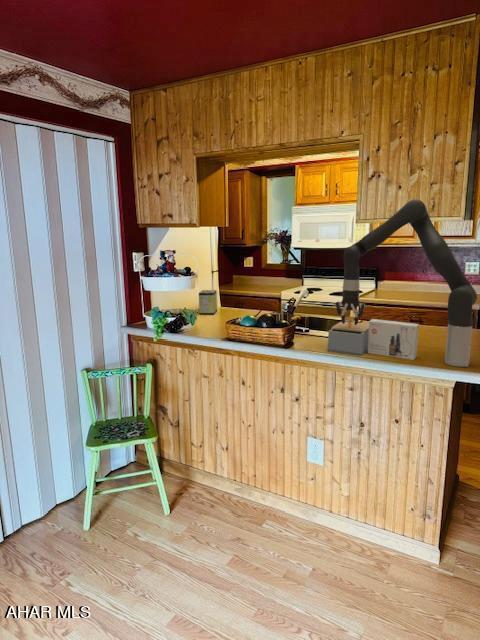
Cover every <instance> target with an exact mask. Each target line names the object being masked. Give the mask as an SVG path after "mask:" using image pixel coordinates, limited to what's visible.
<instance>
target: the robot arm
mask: <svg viewBox="0 0 480 640" xmlns="http://www.w3.org/2000/svg"><path fill="white" fill-rule="evenodd" d="M425 204H426V203H424V202H423V201H422V200H420V199H415V198H414V199H411V200H408V201H407V203H405V204H404V205H403V206H402V207H401V208H400V209H399V210H398V211H396V212H395V214H393V215H392V216H390V217H389V218H388V219H387V220H386V221H384V222H383V223H382V224H380V225H379V226H378V227H376V228H375V229H373V230H372V231H370V232H368V233H367V234H366V235H364V236H363V237H361V239H360V240H358V241H356V242H355V243H354V244H351V245H350V246H347V247H345V249H344V252H343V265H344V266H343V267H344V269H343V270H344V271H343V283H342V300H341V301H336V302H335V307H336V313H337V315H339V316H341V317H340V318H341V319H340V322H342V324H344V323H345V321H346V320H345V319H344V318H345V317H346V313H347V311H351V312H353V315H354V317H355V321H354V322H355V323H354V324H355V325H357V324H358V323H359V322H360V321H359V320H360V319H359V317H363V315H364V312H365V309H366V308H365V307H366V303H361V302H360V267H359V264H360V258H361V257H363V256H364V255H366V254H367V253H368V252H370V251H372V250H373V249H375V248H377V247H378V246H380V245H381V244H383V243H384V242H386V241H387V239H389V238H390V237H391V236H392V235H393V234H394V233H396V232H397V231H398V230H400V229H401V228H403V227H404V226H406V225H410V226H411V227H412V229H413V230H414V231H415V233H416V235H417V237H418V239H419V241H420V244H421V247H422V250H423V253H424V254H425V256H426V257H427V260H428V262H429V264H430V265H431V266H432V268H433V269H434V270H435V271H436V273H438V274H439V275H440V277H442V279H443V280H445V282H446V284H447V286H448V288H449V289H450V292H449V296H448V298H447V299H448V301H447V314H446V315H447V333H446V343H445V354H444V355H445V356H444V363H445V365H449V366H452V367H466V368H469V365H470V355H471V346H472V335H473V334H472V333H473V324H474V320H473V317H472V313H473V306H474V305H475V304H476V302H477V299H478V294H477V292H476V290H475V288H474V287H473V285H472V284H471V283H470V281H468V279H467V278H466V275H464V273H463V272H462V268H461V267H460V266H459V265H460V264H459V263H458V261H457V259H456V257H455V255H454V254H453V252H452V250H451V249H450V247H449V245H448V243H447V242H446V240H445V239H444V237H443V236H442V235H441V233H440V232H439V231H438V230H437V229H436V227H435V226H434V224H433V222H432V220H431V218H430V216H429V213H428V210H427V209H428V208H427V206H426V205H425ZM342 306H343V309H341V308H342ZM358 307H359V308H360V311H359V310H358Z"/></svg>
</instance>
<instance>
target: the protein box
mask: <svg viewBox="0 0 480 640" xmlns="http://www.w3.org/2000/svg"><path fill="white" fill-rule="evenodd" d="M217 296H218V293H217V289H202V290H200V292H198V310H199V312H198V313H199V314H198V315H199V316H214V315H216V313H217V312H218V299H217V298H218V297H217Z"/></svg>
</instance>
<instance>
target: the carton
mask: <svg viewBox="0 0 480 640" xmlns="http://www.w3.org/2000/svg"><path fill="white" fill-rule="evenodd" d="M327 333H328V334H327V336H328V337H327V352H330V351H331V352H332V353H337V352H339V353H338V354H346V355H354V356H363V355H364V354H366V351H367V352H368V336H369V329H368V330H367V331H366V332H365V333H364V332H354V331H345V330H336V329H329V330H328V332H327ZM331 352H330V353H331Z"/></svg>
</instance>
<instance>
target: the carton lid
mask: <svg viewBox="0 0 480 640" xmlns="http://www.w3.org/2000/svg"><path fill="white" fill-rule="evenodd" d="M344 319H345V323H344V324H342V322H341V321H340V322H338V323H336V324H334V325H333V326H332V327H331V329H336V330H345V331H354V332H364V333H365V332H366V331H367V330H368V329H369V323H365V322H358V324H357V325H355V324H354V323H355V316H346V315H345V318H344ZM331 329H330V330H331Z"/></svg>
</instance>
